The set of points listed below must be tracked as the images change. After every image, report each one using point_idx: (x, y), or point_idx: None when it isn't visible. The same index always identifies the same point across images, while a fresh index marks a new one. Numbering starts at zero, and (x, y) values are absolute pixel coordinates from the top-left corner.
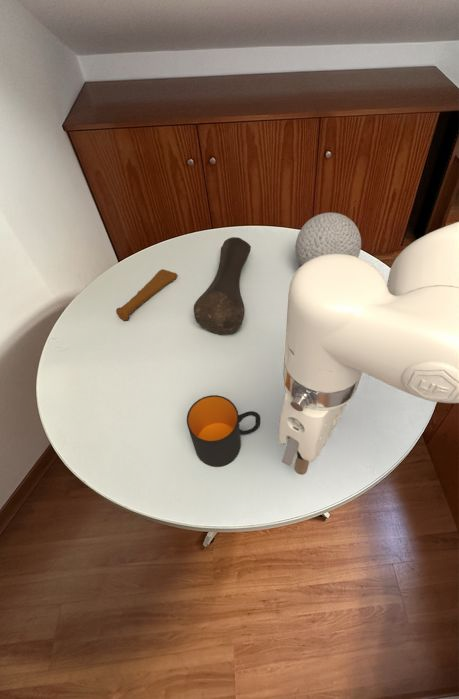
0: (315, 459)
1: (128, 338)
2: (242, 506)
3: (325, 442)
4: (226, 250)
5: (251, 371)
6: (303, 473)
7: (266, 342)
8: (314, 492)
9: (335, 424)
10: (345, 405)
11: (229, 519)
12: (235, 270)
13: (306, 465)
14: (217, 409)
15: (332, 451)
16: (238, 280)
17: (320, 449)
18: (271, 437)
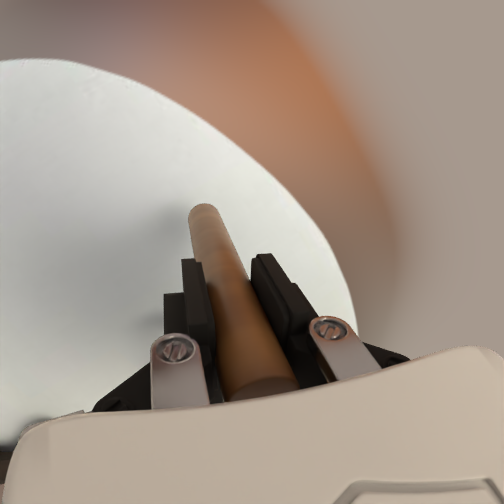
0: (487, 349)
1: None
2: (301, 255)
3: (429, 392)
4: (2, 483)
5: (79, 378)
6: (214, 208)
7: (24, 383)
8: (205, 157)
9: (299, 460)
10: (62, 465)
11: (327, 259)
12: (5, 468)
13: (219, 224)
14: None
15: (101, 170)
16: (8, 461)
17: (491, 391)
18: (155, 288)
